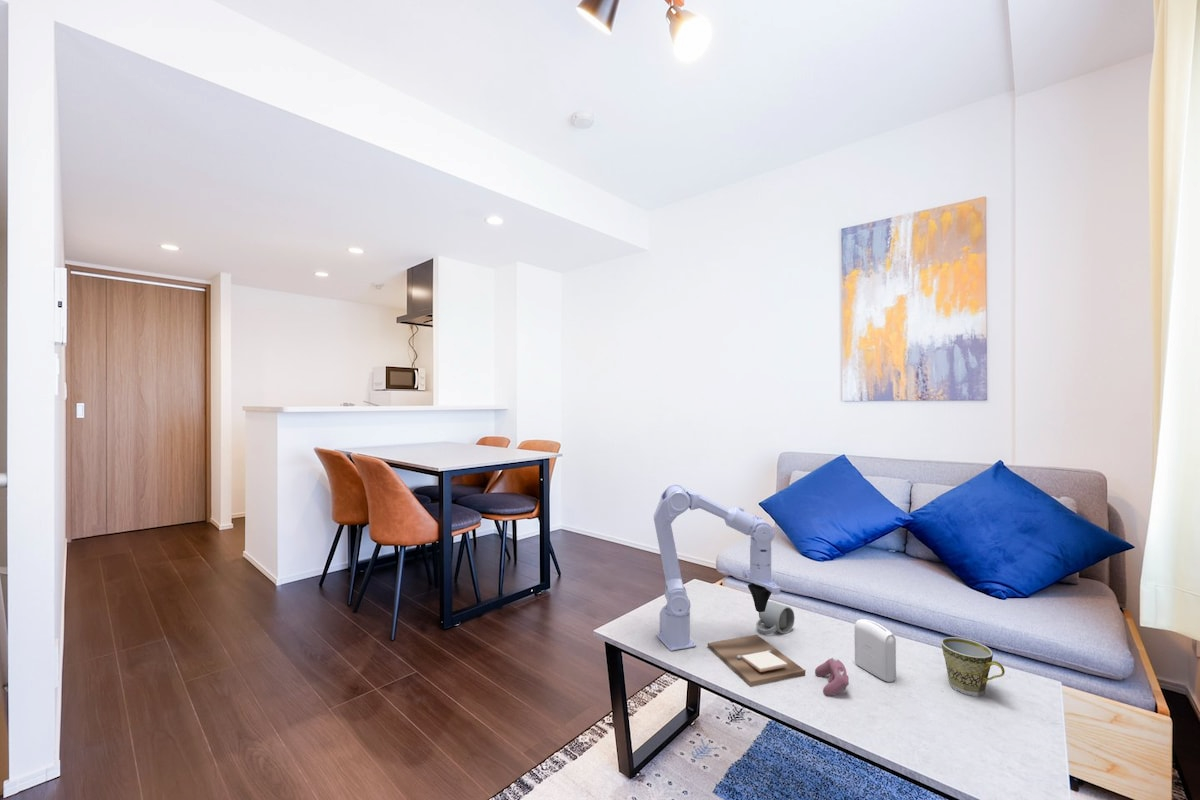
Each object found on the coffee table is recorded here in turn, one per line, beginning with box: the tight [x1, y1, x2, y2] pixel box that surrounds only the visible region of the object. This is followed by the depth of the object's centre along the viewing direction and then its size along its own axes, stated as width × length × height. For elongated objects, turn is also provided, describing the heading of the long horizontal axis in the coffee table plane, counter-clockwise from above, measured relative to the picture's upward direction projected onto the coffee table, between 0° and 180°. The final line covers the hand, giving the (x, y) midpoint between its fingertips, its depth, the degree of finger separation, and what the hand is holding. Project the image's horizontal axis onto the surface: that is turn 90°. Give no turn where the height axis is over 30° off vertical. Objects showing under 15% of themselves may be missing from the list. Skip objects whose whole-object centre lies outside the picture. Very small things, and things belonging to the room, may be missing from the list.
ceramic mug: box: [756, 600, 796, 635], centre depth 151 cm, size 11×8×8 cm
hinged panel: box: [737, 650, 788, 672], centre depth 129 cm, size 9×10×1 cm
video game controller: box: [814, 657, 850, 697], centre depth 122 cm, size 10×5×7 cm, turn 169°
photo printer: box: [854, 618, 897, 683], centre depth 128 cm, size 10×4×12 cm, turn 20°
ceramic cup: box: [941, 636, 1006, 697], centre depth 119 cm, size 13×10×10 cm
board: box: [707, 634, 806, 687], centre depth 133 cm, size 20×16×1 cm
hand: (760, 610), depth 142 cm, fingers closed
